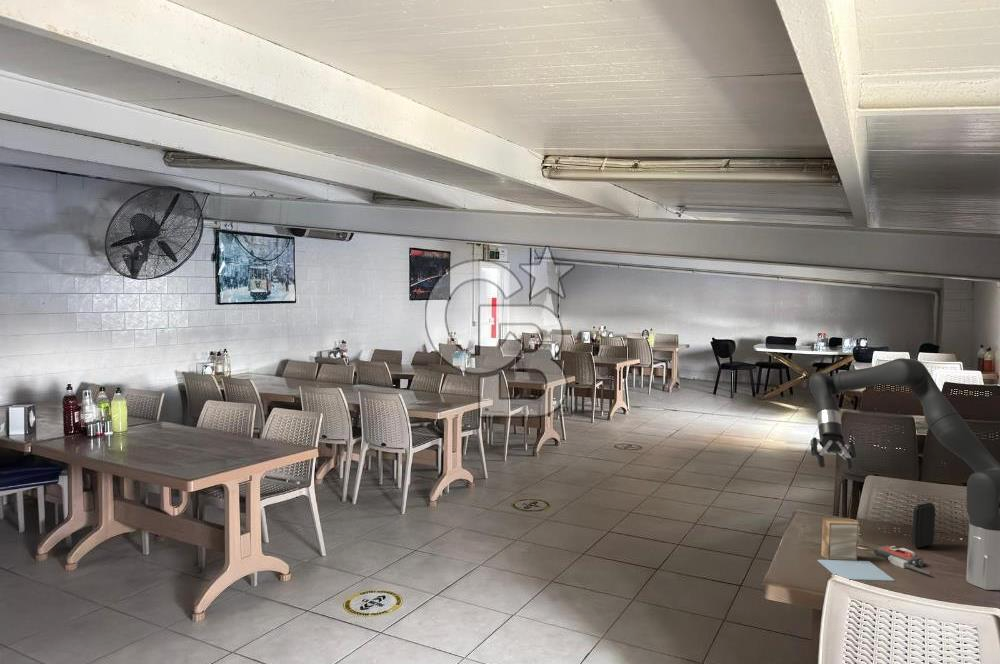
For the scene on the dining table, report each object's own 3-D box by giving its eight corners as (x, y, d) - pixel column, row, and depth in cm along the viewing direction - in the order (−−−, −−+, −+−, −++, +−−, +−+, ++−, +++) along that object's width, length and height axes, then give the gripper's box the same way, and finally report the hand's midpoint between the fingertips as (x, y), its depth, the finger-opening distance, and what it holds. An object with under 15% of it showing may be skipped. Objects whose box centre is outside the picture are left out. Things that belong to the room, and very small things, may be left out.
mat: (894, 581, 206) (894, 580, 206) (839, 579, 206) (839, 578, 206) (869, 562, 221) (869, 561, 221) (817, 560, 221) (817, 559, 221)
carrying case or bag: (928, 543, 240) (930, 500, 239) (937, 545, 237) (939, 502, 237) (909, 547, 235) (911, 504, 234) (918, 550, 232) (920, 506, 232)
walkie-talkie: (868, 556, 227) (928, 579, 209) (869, 542, 227) (929, 564, 209) (886, 552, 231) (947, 575, 212) (887, 539, 230) (948, 561, 212)
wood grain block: (857, 561, 221) (858, 523, 221) (828, 560, 221) (829, 523, 221) (849, 555, 226) (851, 518, 226) (821, 554, 226) (822, 517, 226)
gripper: (813, 418, 247) (818, 462, 238) (854, 423, 245) (861, 467, 237) (805, 427, 253) (810, 470, 245) (846, 431, 252) (852, 474, 244)
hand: (835, 468), depth 241 cm, fingers open, 8 cm apart
